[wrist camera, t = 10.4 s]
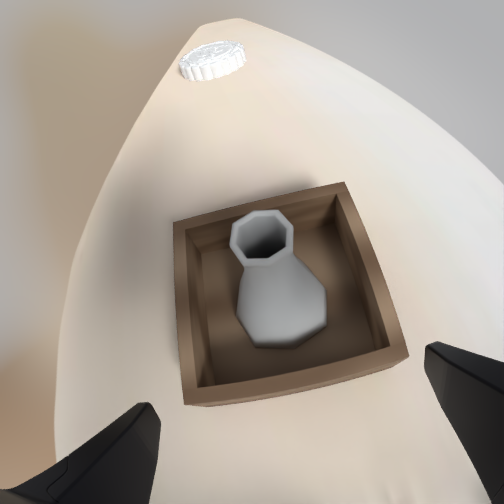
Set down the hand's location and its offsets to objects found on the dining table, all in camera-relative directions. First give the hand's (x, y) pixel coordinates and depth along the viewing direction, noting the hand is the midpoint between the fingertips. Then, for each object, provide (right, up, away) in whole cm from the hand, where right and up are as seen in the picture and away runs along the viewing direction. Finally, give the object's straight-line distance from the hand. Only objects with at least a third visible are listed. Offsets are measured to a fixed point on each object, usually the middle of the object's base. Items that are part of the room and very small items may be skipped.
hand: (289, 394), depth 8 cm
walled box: (+1, 0, +15) cm, 15 cm away
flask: (+1, 0, +15) cm, 15 cm away
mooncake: (-8, +38, +40) cm, 55 cm away
